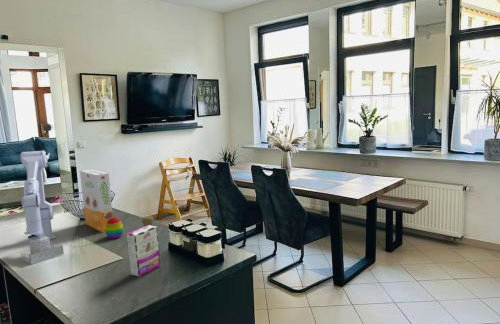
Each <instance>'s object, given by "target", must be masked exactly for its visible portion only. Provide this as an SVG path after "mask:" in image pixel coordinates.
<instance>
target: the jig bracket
mask: <svg viewBox="0 0 500 324" xmlns="http://www.w3.org/2000/svg"><path fill="white" fill-rule="evenodd" d="M50 247H51V248H49V249H46V250H42V251H39V252H36V253H32V254H31V253H29V254H28V253H26V252H22V253H20V258H21V259H22V260H23V261H25V262H27V263H28V264H29V265H31V266H32V265H34V264H37V263H38V264H39V263H41V262H44V261H47V260H50V259H49V258H51V259H53V258H52V257H54V258H56V256H57V257H59V255H60V256H63V255H64V254H65V253H64V245H62V244H59V245H57V246H56V245H54V244H50ZM62 254H63V255H62Z"/></svg>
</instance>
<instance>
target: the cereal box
mask: <svg viewBox="0 0 500 324" xmlns="http://www.w3.org/2000/svg"><path fill="white" fill-rule="evenodd" d="M79 176H80V185H81V194H82V203H83V212H84V213H83V214H84V221H85V225H86V226H89V227H90V228H92V229H95V230H97V231H98V232H99V233H100V232H101V233H106V224H107V222H108V220H109V219H110V218H112V217H114V216H113V207H112V206H113V205H112V195H111V185H110V174H109V172H105V171H100V170H96V169H85V170H79Z"/></svg>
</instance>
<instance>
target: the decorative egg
mask: <svg viewBox="0 0 500 324" xmlns="http://www.w3.org/2000/svg"><path fill="white" fill-rule="evenodd" d="M123 233H124V226H123V223H122V222H121V220H120V219H119V218H118V217H115V216H113V217H112V218H110V219H109V220H108V222H107V224H106V232H105V234H106V236H107V237H108V239H111V240H115V239H118V238H120V237H122V236H123Z"/></svg>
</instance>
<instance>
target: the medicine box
mask: <svg viewBox="0 0 500 324" xmlns="http://www.w3.org/2000/svg"><path fill="white" fill-rule="evenodd" d="M50 240H51V239H49V237H45V236H44V237H43V238H39V237H38V236H34V237H31V238H28V244H29V250H30V254H32V253H36V252H39V251H42V250H46V249H49V248H51V247H50V245H51V241H50Z"/></svg>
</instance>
